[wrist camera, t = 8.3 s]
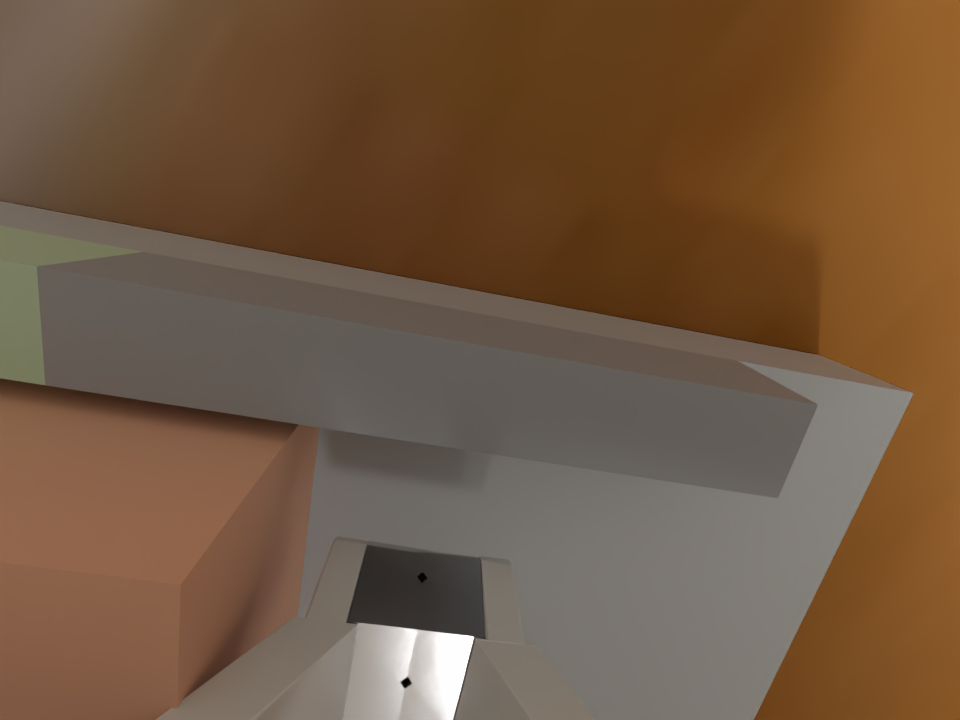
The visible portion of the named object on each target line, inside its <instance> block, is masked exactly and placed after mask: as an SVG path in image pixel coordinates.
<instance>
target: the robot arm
mask: <svg viewBox="0 0 960 720" xmlns="http://www.w3.org/2000/svg"><path fill="white" fill-rule="evenodd" d="M156 720H596V719H595V718H594V716H593V715H592V714H591V713H590V712H589V710H588V709H587V708H586V707H585V706H584V704H583V703H582V702H581V701H580V700H579V699H578V697H577V696H576V695H575V694H574V693H573V691H572V690H571V689H570V688H569V687H568V685H567V684H566V683H565V682H564V681H563V679H562V678H561V677H560V676H559V675H558V673H557V672H556V671H555V670H554V669H553V667H552V666H551V665H550V664H549V663H548V662H547V660H546V659H545V658H544V657H543V656H542V654H541V653H540V652H539V651H538V650H537V648H536V647H535V646H533V645H526V644H524V638H523V632H522V626H521V619H520V613H519V607H518V600H517V594H516V588H515V582H514V575H513V569H512V564H511V562H510V561H509V560H508V559H499V558H490V557H481V556H479V557H474V556H466V555H459V554H451V553H444V552H436V551H430V550H424V549H418V548H411V547H405V546H399V545H393V544H387V543H381V542H374V541H369V543H368V541H366V540H359V539H353V538H346V537H340V536H337V537H336V538H335V540H334V541H333V543H332V545H331V548H330V551H329V554H328V556H327V559H326V562H325V564H324V567H323V570H322V572H321V575H320V578H319V580H318V583H317V586H316V588H315V591H314V594H313V596H312V599H311V602H310V604H309V607H308V610H307V612H306V615H305V618H301V617H293V618H292V619H290V620H289V621H287V622H286V623H285V624H283V625H282V626H281V627H279V628H278V629H277V630H275V631H274V632H273V633H271V634H270V635H269V636H267V637H266V638H265V639H263V640H262V641H261V642H259V643H258V644H257V645H255V646H254V647H253V648H251V649H250V650H249V651H247V652H246V653H244V654H243V655H242V656H240V657H239V658H238V659H236V660H235V661H234V662H232V663H231V664H230V665H228V666H227V667H226V668H224V669H223V670H222V671H220V672H219V673H218V674H216V675H215V676H214V677H212V678H211V679H210V680H208V681H207V682H206V683H204V684H203V685H201V686H200V687H199V688H197V689H196V690H195V691H193V692H192V693H191V694H189V695H188V696H187V697H185V698H184V699H183V700H182V701H181V703H180V705H179V706H178V708H171V709H169V710H168V711H167V712H165V713H164V714H163V715H161V716H160V717H158V718H157V719H156Z"/></svg>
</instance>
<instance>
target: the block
mask: <svg viewBox="0 0 960 720" xmlns="http://www.w3.org/2000/svg"><path fill="white" fill-rule="evenodd" d="M318 435H319V427H312V426H306V425H299V424H293V423H286V422H280V421H273V420H267V419H260V418H254V417H247V416H241V415H235V414H228V413H222V412H215V411H209V410H202V409H196V408H189V407H183V406H176V405H170V404H163V403H157V402H150V401H144V400H137V399H131V398H124V397H118V396H111V395H105V394H99V393H92V392H86V391H79V390H73V389H66V388H60V387H53V386H47V385H40V384H34V383H27V382H21V381H14V380H8V379H1V378H0V720H156V719H157V718H158V717H160V716H161V715H163V714H164V713H165V712H167V711H168V710H169V709H171V708H178V706H179V705H180V703H181V701H182V700H183V699H184V698H185V697H187V696H188V695H189V694H191V693H192V692H193V691H195V690H196V689H197V688H199V687H200V686H201V685H203V684H204V683H206V682H207V681H208V680H210V679H211V678H212V677H214V676H215V675H216V674H218V673H219V672H220V671H222V670H223V669H224V668H226V667H227V666H228V665H230V664H231V663H232V662H234V661H235V660H236V659H238V658H239V657H240V656H242V655H243V654H244V653H246V652H247V651H249V650H250V649H251V648H253V647H254V646H255V645H257V644H258V643H259V642H261V641H262V640H263V639H265V638H266V637H267V636H269V635H270V634H271V633H273V632H274V631H275V630H277V629H278V628H279V627H281V626H282V625H283V624H285V623H286V622H287V621H289V620H290V619H292V618H293V617H297V616H298V607H299V599H300V590H301V581H302V573H303V564H304V556H305V547H306V538H307V530H308V521H309V513H310V504H311V495H312V487H313V478H314V470H315V461H316V452H317V444H318Z"/></svg>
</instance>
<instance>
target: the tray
mask: <svg viewBox="0 0 960 720" xmlns="http://www.w3.org/2000/svg"><path fill="white" fill-rule="evenodd" d="M0 378H1V379H8V380H14V381H21V382H27V383H34V384H40V385H47V386H53V387H60V388H66V389H73V390H79V391H86V392H92V393H99V394H105V395H111V396H118V397H124V398H131V399H137V400H144V401H150V402H157V403H163V404H170V405H176V406H183V407H189V408H196V409H202V410H209V411H215V412H222V413H228V414H235V415H241V416H247V417H254V418H260V419H267V420H273V421H280V422H286V423H293V424H299V425H306V426H312V427H319V435H318V444H317V452H316V461H315V470H314V478H313V487H312V495H311V504H310V513H309V521H308V530H307V538H306V547H305V556H304V564H303V573H302V581H301V590H300V599H299V607H298V616H297V617H301V618H305V615H306V612H307V610H308V607H309V604H310V602H311V599H312V596H313V594H314V591H315V588H316V586H317V583H318V580H319V578H320V575H321V572H322V570H323V567H324V564H325V562H326V559H327V556H328V554H329V551H330V548H331V545H332V543H333V541H334V540H335V538H336V537H337V536H340V537H346V538H353V539H359V540H366V541H368V543H369V541H374V542H381V543H387V544H393V545H399V546H405V547H411V548H418V549H424V550H430V551H436V552H444V553H451V554H459V555H466V556H474V557H479V556H481V557H490V558H499V559H508V560H509V561H510V562H511V564H512V569H513V575H514V582H515V588H516V594H517V600H518V607H519V613H520V619H521V626H522V632H523V638H524V644H526V645H533V646H535V647H536V648H537V650H538V651H539V652H540V653H541V654H542V656H543V657H544V658H545V659H546V660H547V662H548V663H549V664H550V665H551V666H552V667H553V669H554V670H555V671H556V672H557V673H558V675H559V676H560V677H561V678H562V679H563V681H564V682H565V683H566V684H567V685H568V687H569V688H570V689H571V690H572V691H573V693H574V694H575V695H576V696H577V697H578V699H579V700H580V701H581V702H582V703H583V704H584V706H585V707H586V708H587V709H588V710H589V712H590V713H591V714H592V715H593V716H594V718H595V719H596V720H754V718H755V716H756V714H757V712H758V710H759V708H760V706H761V704H762V702H763V700H764V698H765V696H766V694H767V692H768V690H769V688H770V686H771V684H772V682H773V679H774V677H775V675H776V673H777V671H778V669H779V667H780V665H781V663H782V661H783V659H784V657H785V655H786V653H787V651H788V649H789V647H790V645H791V643H792V641H793V639H794V637H795V635H796V633H797V631H798V628H799V626H800V624H801V622H802V620H803V618H804V616H805V614H806V612H807V610H808V608H809V606H810V604H811V602H812V600H813V598H814V596H815V594H816V592H817V590H818V588H819V586H820V584H821V582H822V580H823V578H824V575H825V573H826V571H827V569H828V567H829V565H830V563H831V561H832V559H833V557H834V555H835V553H836V551H837V549H838V547H839V545H840V543H841V541H842V539H843V537H844V535H845V533H846V531H847V529H848V527H849V524H850V522H851V520H852V518H853V516H854V514H855V512H856V510H857V508H858V506H859V504H860V502H861V500H862V498H863V496H864V494H865V492H866V490H867V488H868V486H869V484H870V482H871V480H872V478H873V476H874V473H875V471H876V469H877V467H878V465H879V463H880V461H881V459H882V457H883V455H884V453H885V451H886V449H887V447H888V445H889V443H890V441H891V439H892V437H893V435H894V433H895V431H896V429H897V427H898V425H899V423H900V420H901V418H902V416H903V414H904V412H905V410H906V408H907V406H908V404H909V402H910V400H911V398H912V396H913V394H914V393H912V392H910V391H907V390H905V389H902V388H900V387H897V386H895V385H892V384H890V383H888V382H885V381H883V380H880V379H878V378H875V377H873V376H870V375H868V374H865V373H863V372H860V371H858V370H855V369H853V368H850V367H848V366H845V365H843V364H841V363H838V362H836V361H833V360H831V359H828V358H826V357H823V356H821V355H816V354H811V353H805V352H800V351H795V350H789V349H784V348H779V347H774V346H768V345H763V344H758V343H752V342H747V341H742V340H736V339H731V338H726V337H720V336H715V335H710V334H704V333H699V332H694V331H688V330H683V329H678V328H673V327H667V326H662V325H657V324H651V323H646V322H641V321H635V320H630V319H625V318H619V317H614V316H609V315H603V314H598V313H593V312H587V311H582V310H577V309H571V308H566V307H561V306H556V305H550V304H545V303H540V302H534V301H529V300H524V299H518V298H513V297H508V296H502V295H497V294H492V293H486V292H481V291H476V290H470V289H465V288H460V287H455V286H449V285H444V284H439V283H433V282H428V281H423V280H417V279H412V278H407V277H401V276H396V275H391V274H385V273H380V272H375V271H369V270H364V269H359V268H354V267H348V266H343V265H338V264H332V263H327V262H322V261H316V260H311V259H306V258H300V257H295V256H290V255H284V254H279V253H274V252H268V251H263V250H258V249H253V248H247V247H242V246H237V245H231V244H226V243H221V242H215V241H210V240H205V239H199V238H194V237H189V236H183V235H178V234H173V233H167V232H162V231H157V230H152V229H146V228H141V227H136V226H130V225H125V224H120V223H114V222H109V221H104V220H98V219H93V218H88V217H82V216H77V215H72V214H66V213H61V212H56V211H51V210H45V209H40V208H35V207H29V206H24V205H19V204H13V203H8V202H3V201H0Z"/></svg>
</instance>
